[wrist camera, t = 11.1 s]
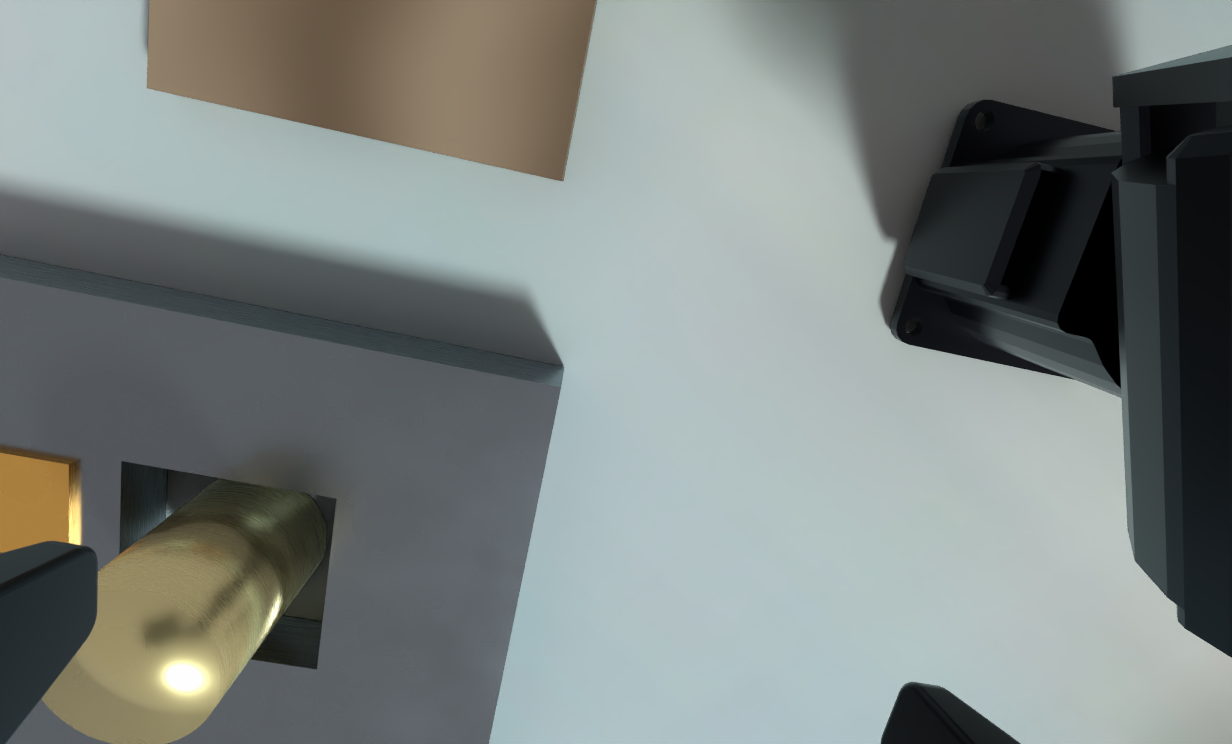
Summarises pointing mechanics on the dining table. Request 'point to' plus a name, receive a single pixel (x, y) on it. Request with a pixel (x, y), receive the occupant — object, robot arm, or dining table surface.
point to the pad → (389, 69)
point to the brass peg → (188, 612)
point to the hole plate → (287, 487)
